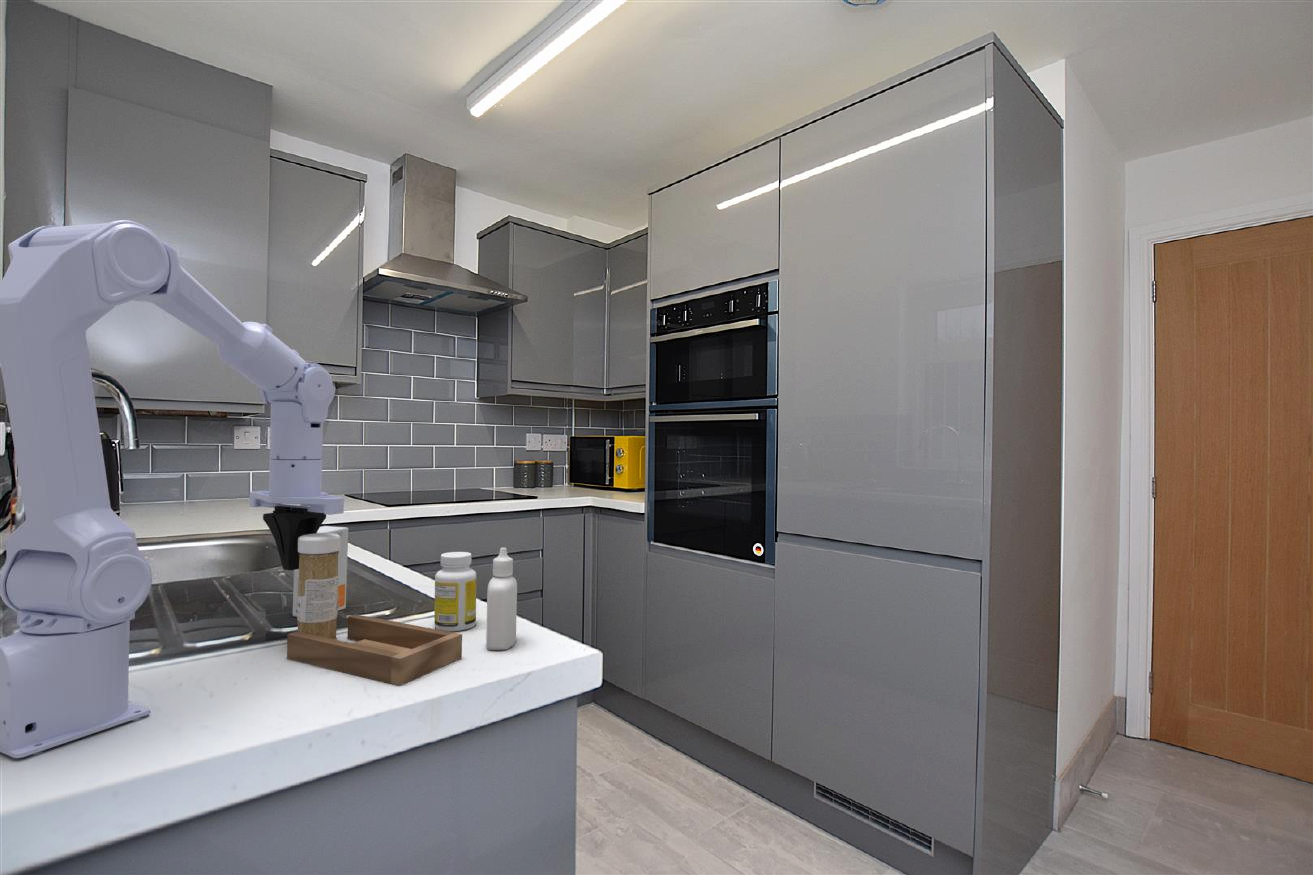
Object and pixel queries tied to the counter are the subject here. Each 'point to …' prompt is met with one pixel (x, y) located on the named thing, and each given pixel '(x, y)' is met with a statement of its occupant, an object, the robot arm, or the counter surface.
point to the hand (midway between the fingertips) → (294, 568)
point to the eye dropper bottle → (501, 604)
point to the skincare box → (341, 567)
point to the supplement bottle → (455, 593)
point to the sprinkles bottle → (318, 584)
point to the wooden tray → (379, 650)
